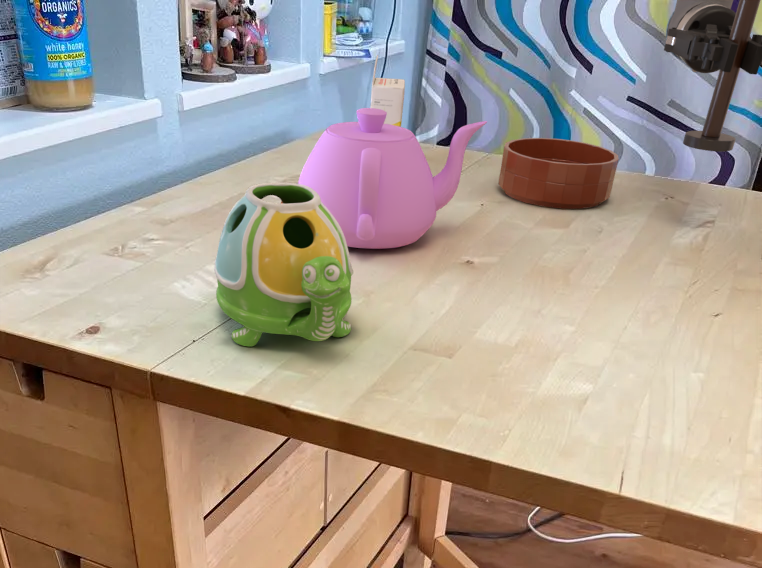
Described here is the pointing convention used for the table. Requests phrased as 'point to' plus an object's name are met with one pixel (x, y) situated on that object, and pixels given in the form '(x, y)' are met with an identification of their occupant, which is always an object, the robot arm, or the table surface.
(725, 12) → the robot arm
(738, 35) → the peg on round base
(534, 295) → the table surface
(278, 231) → the turtle holder
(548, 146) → the bowl
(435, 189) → the teapot
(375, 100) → the ink cartridge box
